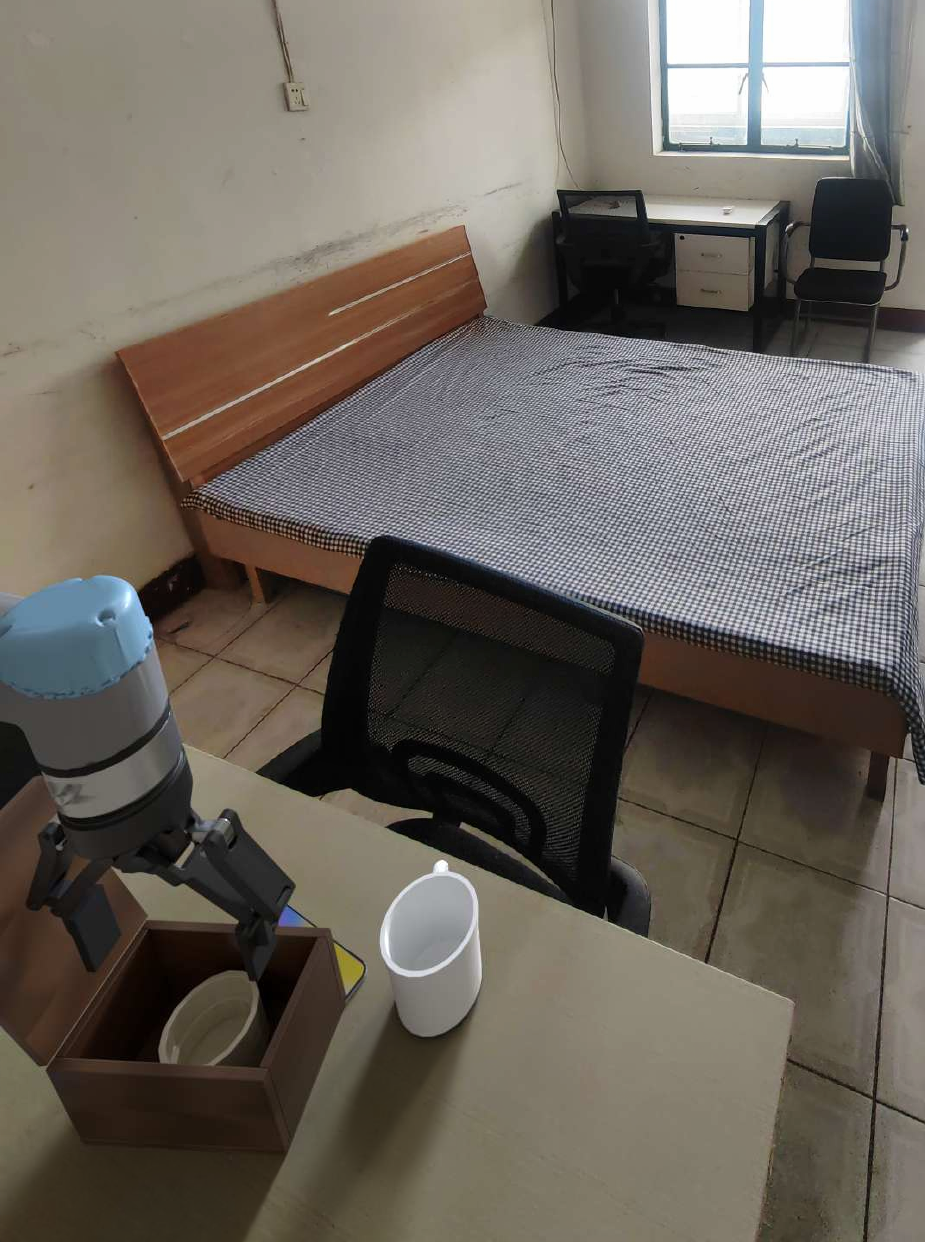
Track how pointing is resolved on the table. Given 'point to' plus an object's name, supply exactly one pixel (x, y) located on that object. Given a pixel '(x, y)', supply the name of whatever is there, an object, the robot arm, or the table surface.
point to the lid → (46, 935)
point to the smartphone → (348, 961)
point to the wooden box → (199, 1094)
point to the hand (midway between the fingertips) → (184, 957)
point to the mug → (433, 952)
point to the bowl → (218, 1024)
